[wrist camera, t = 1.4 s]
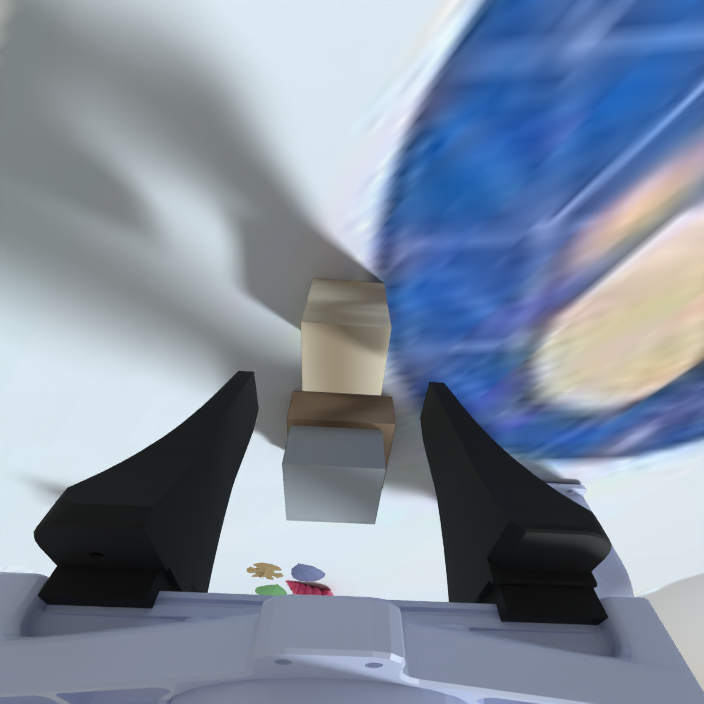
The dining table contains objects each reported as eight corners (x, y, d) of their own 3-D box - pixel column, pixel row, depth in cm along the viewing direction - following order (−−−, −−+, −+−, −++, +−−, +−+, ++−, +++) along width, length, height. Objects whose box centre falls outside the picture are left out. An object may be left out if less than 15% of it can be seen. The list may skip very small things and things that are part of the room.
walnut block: (391, 393, 24) (395, 424, 22) (380, 456, 28) (382, 488, 26) (293, 387, 24) (286, 418, 22) (296, 451, 28) (290, 483, 26)
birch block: (384, 282, 19) (391, 328, 15) (376, 342, 21) (380, 395, 17) (313, 278, 19) (301, 322, 15) (313, 338, 21) (302, 390, 17)
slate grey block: (382, 429, 22) (385, 468, 20) (373, 484, 26) (374, 524, 23) (290, 425, 22) (282, 463, 20) (293, 481, 25) (286, 520, 23)
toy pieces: (352, 567, 40) (352, 612, 36) (328, 602, 46) (325, 644, 42) (249, 551, 38) (238, 597, 34) (238, 590, 44) (227, 633, 40)
